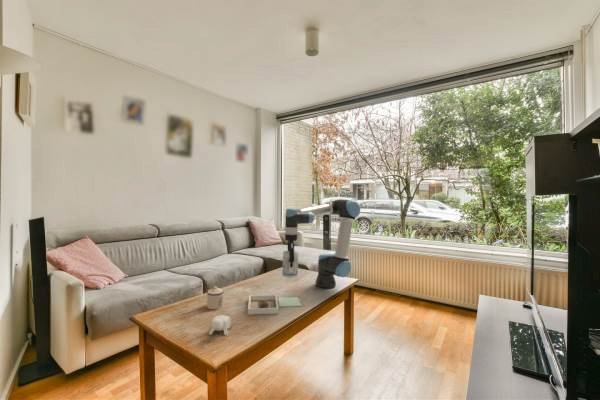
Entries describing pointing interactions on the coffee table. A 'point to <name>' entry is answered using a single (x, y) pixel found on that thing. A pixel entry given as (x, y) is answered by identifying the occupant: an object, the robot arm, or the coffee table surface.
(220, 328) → the white animal figurine
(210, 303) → the teacup with lid
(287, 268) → the supplement tub
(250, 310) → the parts tray
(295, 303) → the mat
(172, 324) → the coffee table surface
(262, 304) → the walnut block
